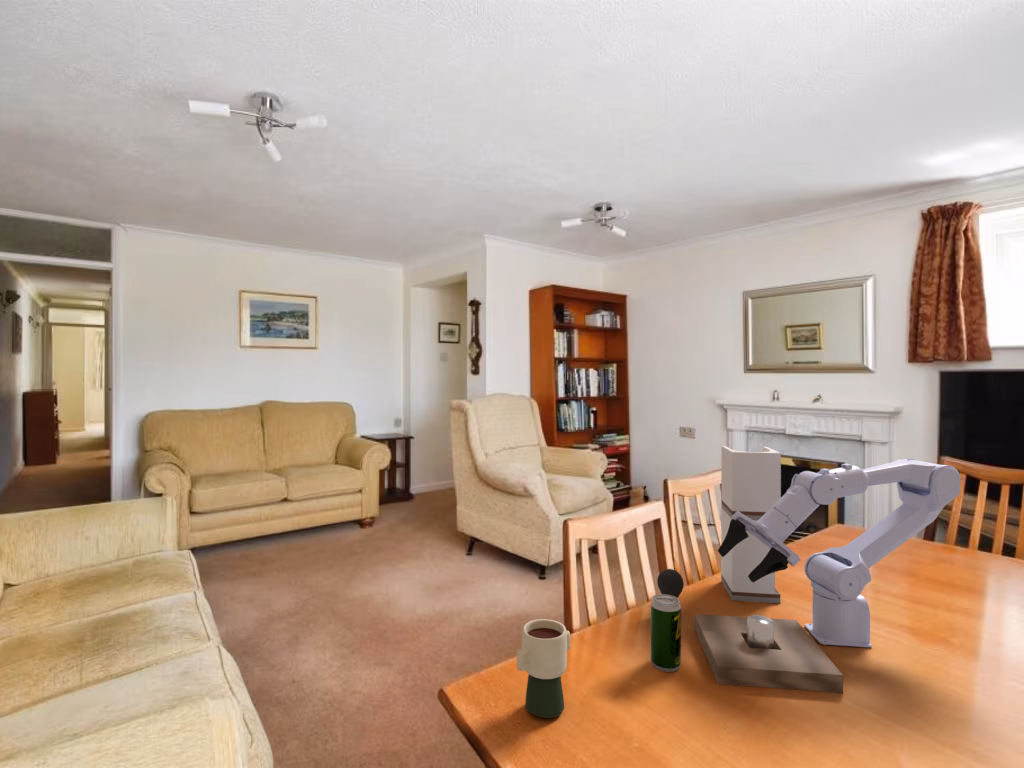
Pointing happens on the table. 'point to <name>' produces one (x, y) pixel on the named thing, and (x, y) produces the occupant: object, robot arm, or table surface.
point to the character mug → (544, 665)
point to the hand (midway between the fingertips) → (734, 566)
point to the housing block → (766, 656)
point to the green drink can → (665, 632)
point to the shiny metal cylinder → (760, 632)
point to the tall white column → (752, 493)
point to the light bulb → (670, 582)
